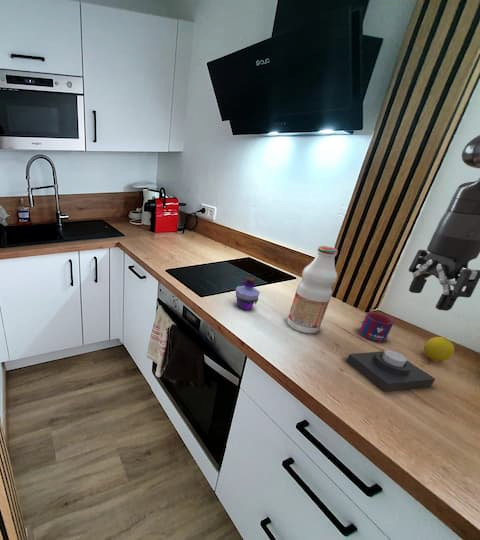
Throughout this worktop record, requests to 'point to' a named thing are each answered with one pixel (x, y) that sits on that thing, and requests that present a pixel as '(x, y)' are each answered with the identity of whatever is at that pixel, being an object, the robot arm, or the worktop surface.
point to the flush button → (394, 358)
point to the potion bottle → (247, 294)
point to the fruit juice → (314, 292)
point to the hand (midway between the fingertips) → (427, 300)
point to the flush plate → (389, 372)
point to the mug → (376, 327)
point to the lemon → (438, 348)
